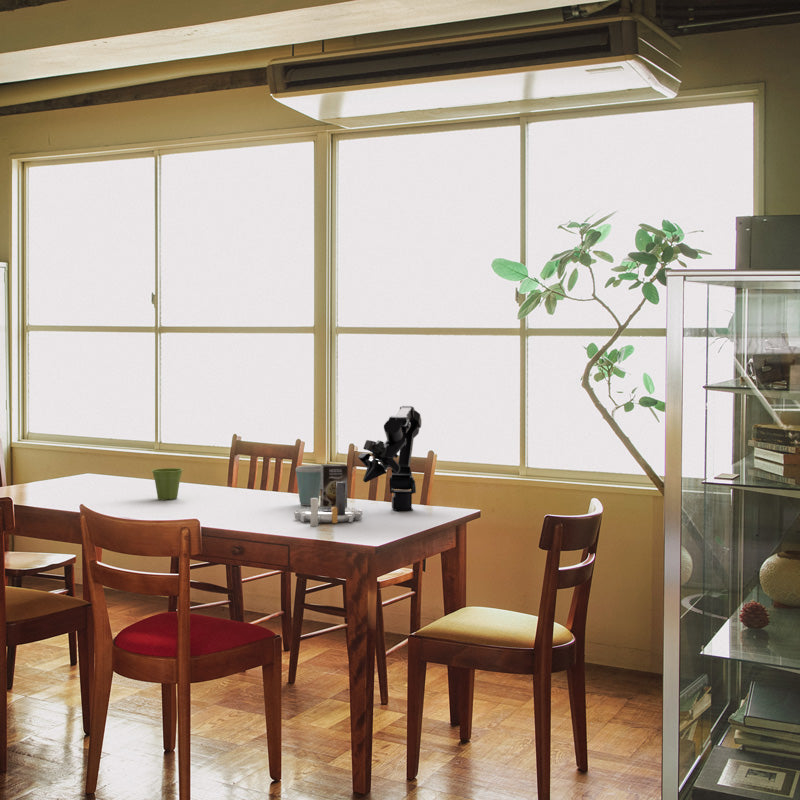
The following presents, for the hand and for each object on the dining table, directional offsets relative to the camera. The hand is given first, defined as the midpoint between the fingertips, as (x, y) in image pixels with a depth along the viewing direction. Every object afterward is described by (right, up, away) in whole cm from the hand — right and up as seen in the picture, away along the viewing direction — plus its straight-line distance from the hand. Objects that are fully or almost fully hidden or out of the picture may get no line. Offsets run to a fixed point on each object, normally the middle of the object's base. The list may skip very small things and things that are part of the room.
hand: (364, 481), depth 331 cm
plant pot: (-77, -11, +43) cm, 89 cm away
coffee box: (-12, -12, +22) cm, 28 cm away
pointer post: (-16, -14, -11) cm, 24 cm away
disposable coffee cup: (-22, -12, +31) cm, 40 cm away
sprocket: (-12, -13, +2) cm, 18 cm away
